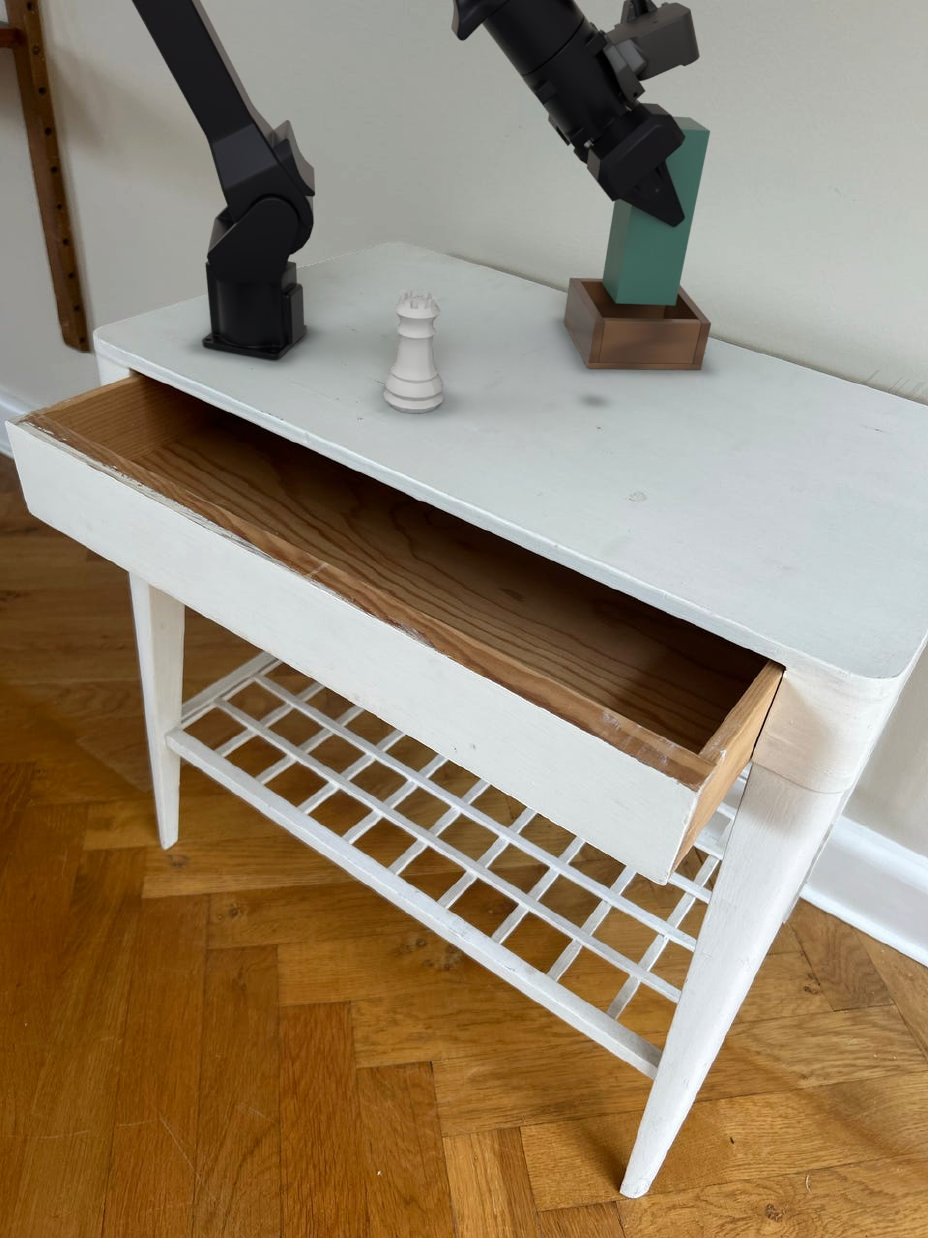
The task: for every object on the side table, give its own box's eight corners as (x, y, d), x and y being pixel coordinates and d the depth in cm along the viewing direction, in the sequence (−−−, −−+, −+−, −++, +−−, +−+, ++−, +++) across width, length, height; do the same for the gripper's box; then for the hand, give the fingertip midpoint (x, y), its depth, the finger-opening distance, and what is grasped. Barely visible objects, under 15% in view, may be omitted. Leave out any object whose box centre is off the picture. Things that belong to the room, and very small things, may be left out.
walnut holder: (587, 368, 82) (595, 320, 79) (563, 322, 89) (569, 277, 87) (700, 369, 83) (711, 323, 81) (667, 324, 91) (676, 279, 88)
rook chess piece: (455, 403, 75) (463, 298, 70) (413, 421, 72) (417, 313, 68) (413, 383, 77) (417, 279, 72) (370, 399, 75) (372, 293, 70)
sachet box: (615, 303, 81) (644, 126, 73) (601, 283, 85) (628, 113, 77) (675, 305, 82) (710, 130, 74) (659, 285, 86) (690, 117, 78)
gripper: (684, -30, 61) (804, 171, 70) (610, -60, 76) (717, 109, 84) (541, 106, 65) (671, 281, 73) (497, 52, 79) (610, 203, 88)
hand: (669, 211), depth 79 cm, fingers closed on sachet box, 5 cm apart
